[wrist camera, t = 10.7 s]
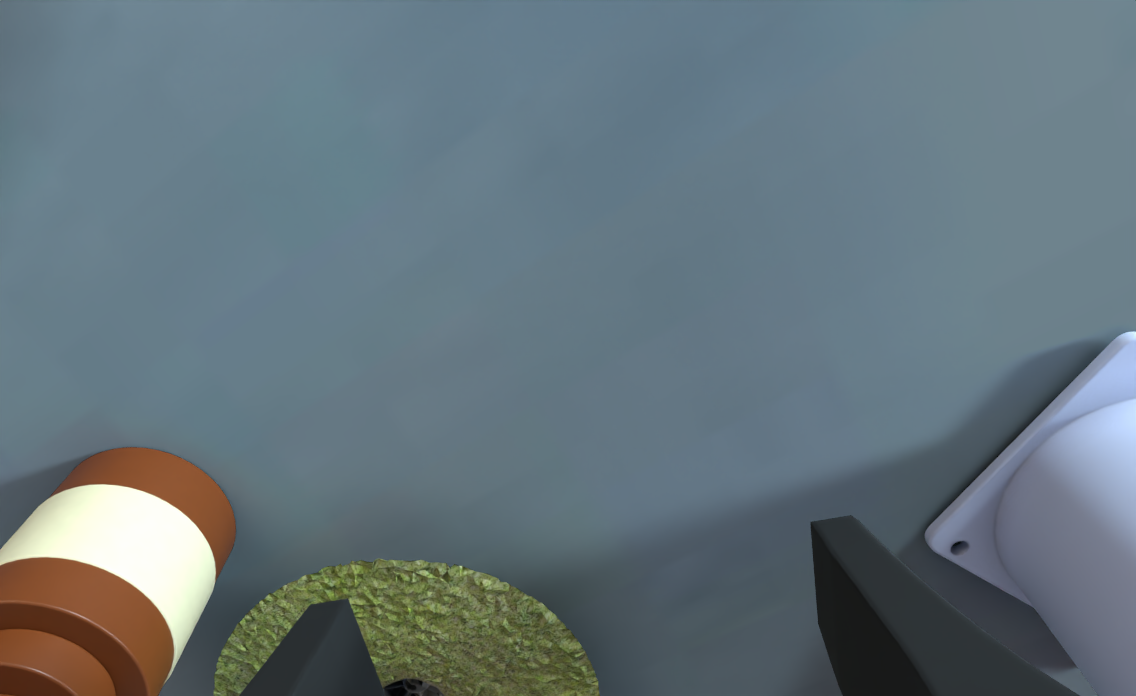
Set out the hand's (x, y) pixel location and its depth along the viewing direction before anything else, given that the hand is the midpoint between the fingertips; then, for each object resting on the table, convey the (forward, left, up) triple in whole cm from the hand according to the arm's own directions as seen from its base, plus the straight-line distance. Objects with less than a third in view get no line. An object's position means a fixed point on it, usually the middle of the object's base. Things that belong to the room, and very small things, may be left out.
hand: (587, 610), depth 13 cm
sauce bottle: (+7, +11, -10) cm, 16 cm away
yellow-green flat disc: (-2, +12, -10) cm, 16 cm away
